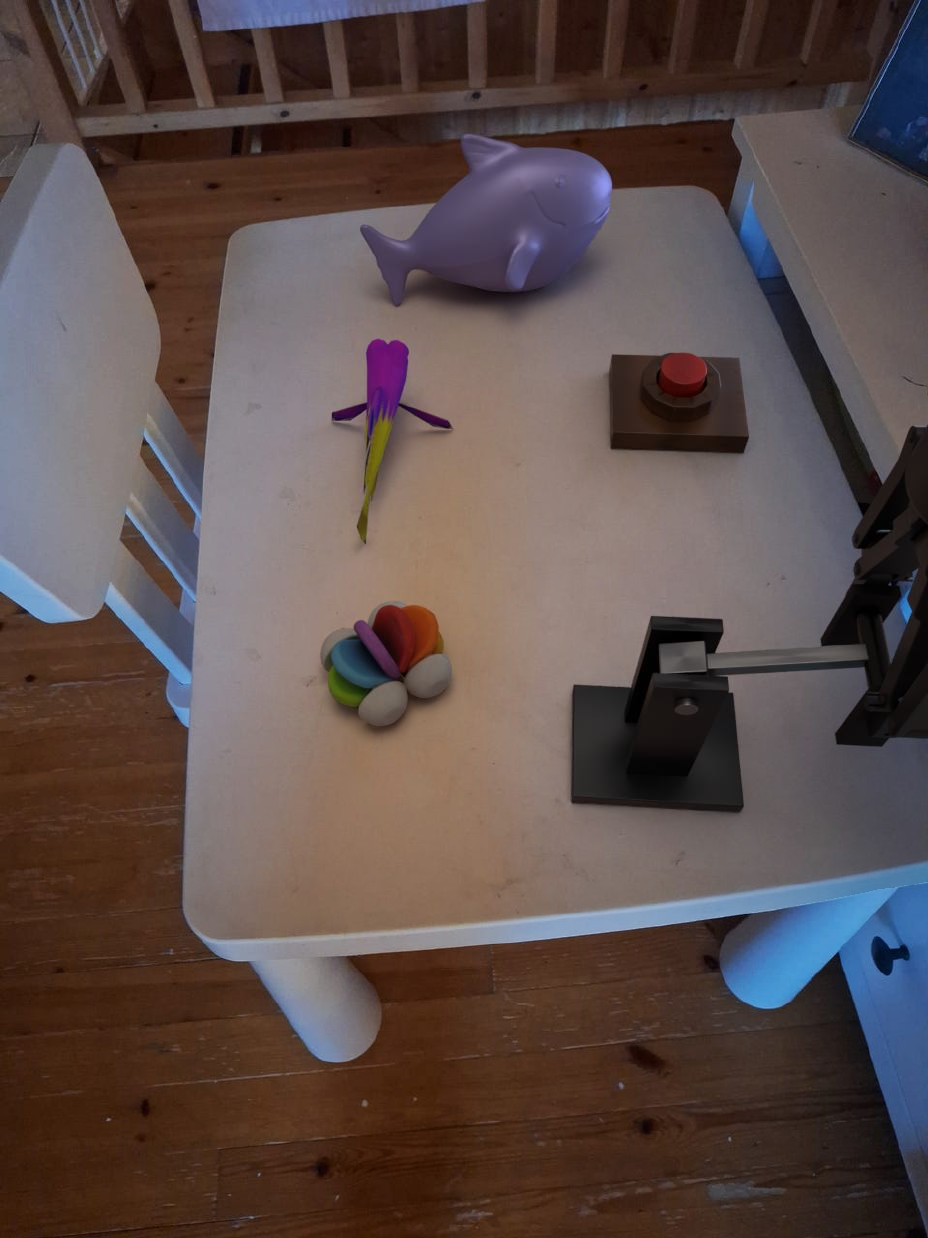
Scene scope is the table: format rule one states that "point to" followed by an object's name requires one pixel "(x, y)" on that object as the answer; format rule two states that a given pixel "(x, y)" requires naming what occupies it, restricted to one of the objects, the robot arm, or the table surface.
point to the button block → (676, 408)
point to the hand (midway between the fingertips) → (850, 690)
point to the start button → (682, 375)
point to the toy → (382, 410)
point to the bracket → (659, 732)
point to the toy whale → (503, 220)
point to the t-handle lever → (787, 655)
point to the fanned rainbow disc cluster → (386, 661)
